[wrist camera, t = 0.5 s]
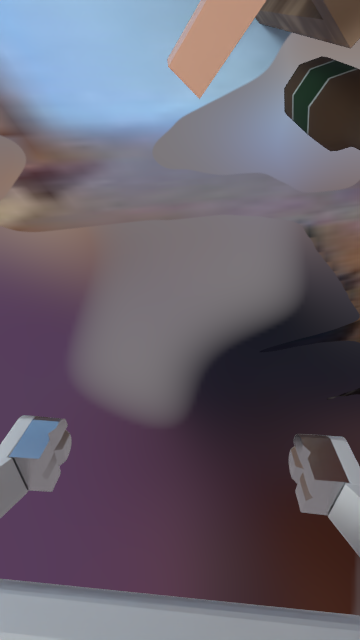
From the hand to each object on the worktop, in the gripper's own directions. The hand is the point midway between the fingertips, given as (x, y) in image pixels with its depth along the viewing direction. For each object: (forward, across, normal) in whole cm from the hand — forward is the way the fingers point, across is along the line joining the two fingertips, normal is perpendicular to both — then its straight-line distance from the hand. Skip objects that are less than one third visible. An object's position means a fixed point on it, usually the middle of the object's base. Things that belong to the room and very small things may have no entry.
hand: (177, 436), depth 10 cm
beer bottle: (+48, -15, -16) cm, 53 cm away
